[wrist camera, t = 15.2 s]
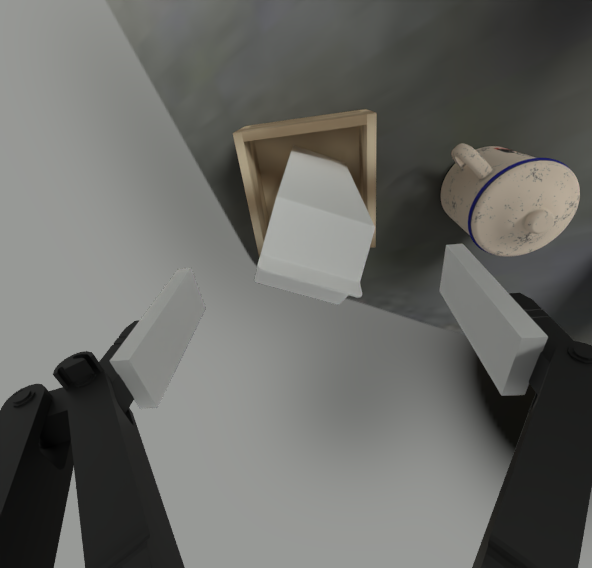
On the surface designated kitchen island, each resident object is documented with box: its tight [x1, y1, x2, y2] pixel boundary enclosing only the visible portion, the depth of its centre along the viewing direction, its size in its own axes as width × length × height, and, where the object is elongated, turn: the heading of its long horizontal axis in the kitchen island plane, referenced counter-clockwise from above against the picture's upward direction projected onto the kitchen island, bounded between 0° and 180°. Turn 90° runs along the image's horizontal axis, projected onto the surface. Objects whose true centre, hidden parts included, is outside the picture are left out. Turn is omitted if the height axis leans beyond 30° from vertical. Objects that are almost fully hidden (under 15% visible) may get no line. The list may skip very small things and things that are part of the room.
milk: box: [254, 145, 375, 305], centre depth 26 cm, size 6×6×22 cm
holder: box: [233, 109, 377, 258], centre depth 33 cm, size 13×13×6 cm
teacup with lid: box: [441, 143, 580, 256], centre depth 30 cm, size 12×9×12 cm
